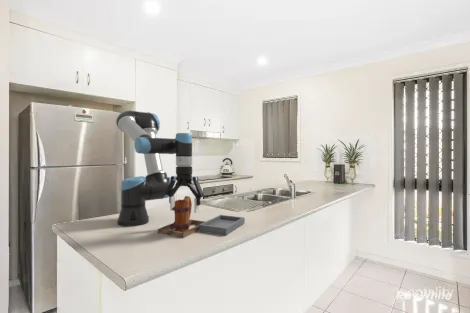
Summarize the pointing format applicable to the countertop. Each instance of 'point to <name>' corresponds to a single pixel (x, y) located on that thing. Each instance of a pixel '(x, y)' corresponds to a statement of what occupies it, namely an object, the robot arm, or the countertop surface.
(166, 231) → the wooden picture frame
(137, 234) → the countertop surface
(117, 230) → the countertop surface
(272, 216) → the countertop surface
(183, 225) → the mug
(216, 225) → the tray
